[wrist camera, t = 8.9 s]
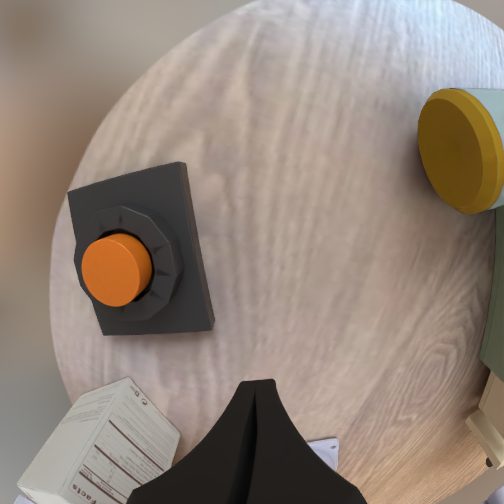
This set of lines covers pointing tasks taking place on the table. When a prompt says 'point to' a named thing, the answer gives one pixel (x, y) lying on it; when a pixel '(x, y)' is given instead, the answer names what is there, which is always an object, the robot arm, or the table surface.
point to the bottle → (464, 147)
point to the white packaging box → (102, 449)
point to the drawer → (490, 422)
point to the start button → (116, 269)
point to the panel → (148, 249)
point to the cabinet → (496, 307)
